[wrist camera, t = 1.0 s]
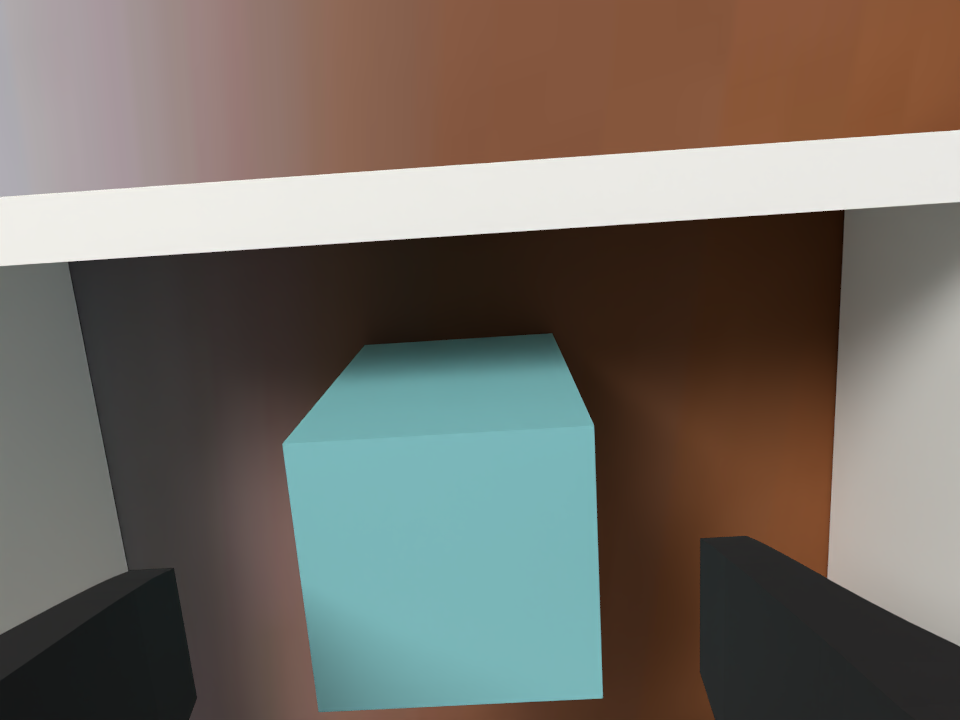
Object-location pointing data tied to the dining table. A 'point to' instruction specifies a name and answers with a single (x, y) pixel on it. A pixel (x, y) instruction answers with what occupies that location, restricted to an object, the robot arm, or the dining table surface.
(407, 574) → the teal block
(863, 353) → the open folding screen
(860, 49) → the dining table surface
